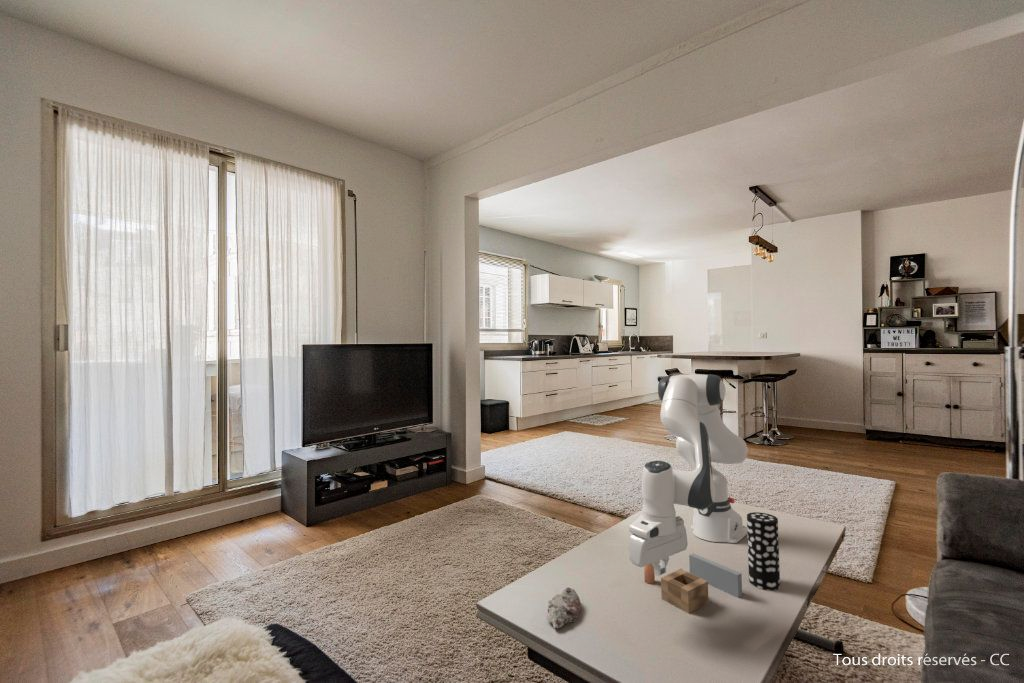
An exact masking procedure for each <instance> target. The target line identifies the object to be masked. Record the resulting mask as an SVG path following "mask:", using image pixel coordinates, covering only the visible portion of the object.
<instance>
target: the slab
mask: <svg viewBox="0 0 1024 683" xmlns="http://www.w3.org/2000/svg"><path fill="white" fill-rule="evenodd" d="M688 558H689V573H691V574H693V575H695V576H697V577H700V578H702V579H704V580H706V581H708V586H712V587H713V588H716V589H717V590H720V591H722V592H724V593H727V594H729V595H731V596H734V597H736V598H737V599H739V598H741V597H743V579H742V577H743V576H742V572H740V571H737V570H735V569H732V568H729V567H728V566H725V565H722V564H720V563H718V562H715V561H713V560H710V559H708V558H706V557H702V556H701V555H699V554H696V553H694V552H692V553H691V554H689V555H688Z"/></svg>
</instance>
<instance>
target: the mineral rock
mask: <svg viewBox="0 0 1024 683" xmlns="http://www.w3.org/2000/svg"><path fill="white" fill-rule="evenodd" d="M547 603H548V608H547V613H546V615H545V617H546V620H547V621H549V622H550V623H551V625H552V627H553V628H555V629H556V628H557V629H560V628H562V627H564V626H565V625H567V623H568V622H569V621H573V622H575V621H576V620H577V619H578V616H579V614H580V611H581V604H582V603H581V600H580V597H579V595H578V593H577V591H576V590H575V589H573V588H571V587H566V588H565V589H563V590H562V592H560V593H558V594H555V596H554V597H552V600H551V599H550V600H548V602H547ZM574 620H575V621H574Z"/></svg>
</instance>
